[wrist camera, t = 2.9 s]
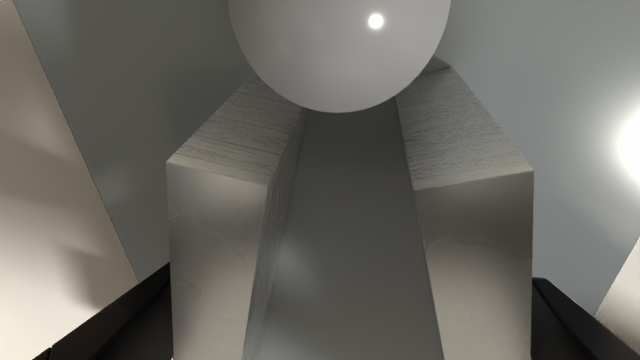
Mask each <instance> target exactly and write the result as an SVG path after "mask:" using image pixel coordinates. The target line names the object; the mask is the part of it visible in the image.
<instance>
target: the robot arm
mask: <svg viewBox="0 0 640 360" xmlns="http://www.w3.org/2000/svg"><path fill="white" fill-rule="evenodd" d="M173 354H174V350H173V325H172V300H171V276H170V261H169V262H168V263H167V264H165V265H164V266H162V267H161V268H160V269H158V270H157V271H155V272H154V273H153V274H151V275H150V276H148V277H147V278H146V279H144V280H143V281H141V282H140V283H139V284H137V285H136V286H135V287H133V288H132V289H130V290H129V291H128V292H126V293H125V294H123V295H122V296H121V297H119V298H118V299H116V300H115V301H114V302H112V303H111V304H109V305H108V306H107V307H105V308H104V309H102V310H101V311H100V312H98V313H97V314H95V315H94V316H93V317H91V318H90V319H88V320H87V321H86V322H84V323H83V324H81V325H80V326H79V327H77V328H76V329H74V330H73V331H72V332H70V333H69V334H67V335H66V336H65V337H63V338H62V339H60V340H59V341H58V342H56V343H55V344H53V345H52V348H51V347H50V348H48V349H46V350H45V351H44V352H42V353H41V354H39V355H38V356H37V357H35V358H34V359H32V360H171V359H172V356H173ZM530 356H531V359H532V360H640V354H638V353H637V352H636V351H635V350H633V349H632V348H631V347H630V346H629V345H627V344H626V343H625V342H624V341H622V340H621V339H620V338H619V337H618V336H616V335H615V334H614V333H613V332H611V331H610V330H609V329H608V328H607V327H605V326H604V325H603V324H602V323H600V322H599V321H598V320H597V319H596V318H594V317H593V316H592V315H591V314H589V313H588V312H587V311H586V310H585V309H583V308H582V307H581V306H580V305H578V304H577V303H576V302H575V301H574V300H572V299H571V298H570V297H569V296H567V295H566V294H565V293H564V292H563V291H561V290H560V289H559V288H558V287H556V286H555V285H554V284H553V283H552V282H550V281H549V280H548V279H546V278H541V277H532V302H531V350H530Z"/></svg>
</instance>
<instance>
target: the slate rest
mask: <svg viewBox="0 0 640 360" xmlns="http://www.w3.org/2000/svg"><path fill="white" fill-rule="evenodd" d="M13 2H14V4H15V6H16V9H17V11H18V13H19V15H20V18H21V20H22V22H23V24H24V26H25V29H26V31H27V33H28V35H29V38H30V40H31V42H32V44H33V47H34V49H35V51H36V53H37V56H38V58H39V60H40V62H41V64H42V67H43V69H44V71H45V73H46V76H47V78H48V80H49V82H50V85H51V87H52V89H53V91H54V93H55V96H56V98H57V100H58V102H59V105H60V107H61V109H62V111H63V114H64V116H65V118H66V120H67V123H68V125H69V127H70V129H71V131H72V134H73V136H74V138H75V140H76V143H77V145H78V147H79V149H80V152H81V154H82V156H83V158H84V161H85V163H86V165H87V167H88V169H89V172H90V174H91V176H92V178H93V181H94V183H95V185H96V187H97V190H98V192H99V194H100V196H101V199H102V201H103V203H104V205H105V207H106V210H107V212H108V214H109V216H110V219H111V221H112V223H113V225H114V228H115V230H116V232H117V234H118V236H119V239H120V241H121V243H122V245H123V248H124V250H125V252H126V254H127V257H128V259H129V261H130V263H131V266H132V268H133V270H134V272H135V274H136V277H137V279H138V281H139V283H140V282H141V281H143V280H144V279H146V278H147V277H148V276H150V275H151V274H153V273H154V272H155V271H157V270H158V269H160V268H161V267H162V266H164V265H165V264H167V263H168V262H169V261H170V251H169V227H168V202H167V178H166V161H167V160H168V159H169V158H170V157H171V156H172V155H173V154H174V153H175V152H176V151H177V150H178V149H179V148H180V147H181V146H182V145H183V144H184V143H185V142H186V141H187V140H188V139H189V138H190V137H191V136H192V135H193V134H194V133H195V132H196V131H197V130H198V129H199V128H200V127H201V126H202V125H203V124H204V123H205V122H206V121H207V120H208V119H209V118H210V117H211V116H212V115H213V114H214V113H215V112H216V111H217V110H218V109H219V108H220V107H221V106H222V105H223V104H224V103H225V102H226V101H227V100H228V99H229V98H230V97H231V96H232V94H233V93H234V92H235V91H236V90H237V89H238V88H239V87H240V86H241V85H242V84H243V83H244V82H245V81H246V80H247V79H248V78H249V77H250V76H251V75H252V74H253V73H254V72H256V73H257V74H258V76H259V77H260V78H261V79H262V80H263V81H264V82H265V83H266V84H267V85H268V86H269V87H271V88H272V89H273V90H274V91H276V92H277V93H278V94H280V95H281V96H283V97H284V98H286V99H288V100H289V101H291V102H294V103H296V104H298V105H300V106H303V107H306V108H308V110H307V115H306V120H305V125H304V130H303V135H302V141H301V146H300V151H299V156H298V161H297V166H296V171H295V176H294V181H293V186H292V191H291V196H290V201H289V206H288V211H287V216H286V221H285V226H284V231H283V236H282V241H281V246H280V251H279V256H278V261H277V266H276V271H275V276H274V281H273V286H272V291H271V296H270V301H269V306H268V312H267V317H266V322H265V327H264V332H263V337H262V342H261V347H260V352H259V357H258V360H444V359H443V353H442V348H441V342H440V337H439V331H438V326H437V321H436V315H435V310H434V304H433V299H432V294H431V288H430V283H429V277H428V272H427V266H426V261H425V256H424V250H423V245H422V239H421V234H420V229H419V223H418V218H417V212H416V207H415V201H414V196H413V191H412V185H411V180H410V174H409V169H408V164H407V158H406V153H405V147H404V142H403V136H402V131H401V126H400V120H399V115H398V109H397V104H396V99H395V95H396V94H398V93H399V92H400V91H401V90H403V89H404V88H405V87H406V86H408V85H409V84H410V83H411V82H412V81H413V80H414V79H415V78H416V77H417V76H421V75H425V74H429V73H433V72H437V71H441V70H445V69H449V68H453V67H454V68H455V70H456V71H457V72H458V74H459V75H460V76H461V77H462V79H463V80H464V81H465V83H466V84H467V85H468V86H469V88H470V89H471V90H472V92H473V93H474V94H475V95H476V97H477V98H478V99H479V101H480V102H481V103H482V104H483V106H484V107H485V108H486V109H487V111H488V112H489V113H490V115H491V116H492V117H493V118H494V120H495V121H496V122H497V124H498V125H499V126H500V127H501V129H502V130H503V131H504V133H505V134H506V135H507V136H508V138H509V139H510V140H511V142H512V143H513V144H514V145H515V147H516V148H517V149H518V150H519V152H520V153H521V154H522V156H523V157H524V158H525V159H526V161H527V162H528V163H529V165H530V166H531V167H532V168H533V170H534V204H533V253H532V277H541V278H546V279H548V280H549V281H550V282H552V283H553V284H554V285H555V286H556V287H558V288H559V289H560V290H561V291H563V292H564V293H565V294H566V295H567V296H569V297H570V298H571V299H572V300H574V301H575V302H576V303H577V304H578V305H580V306H581V307H582V308H583V309H585V310H586V311H587V312H588V313H589V314H591V315H592V316H594V315H595V313H596V311H597V309H598V308H599V306H600V304H601V302H602V301H603V299H604V297H605V296H606V294H607V292H608V290H609V289H610V287H611V285H612V283H613V282H614V280H615V278H616V276H617V275H618V273H619V271H620V270H621V268H622V266H623V264H624V263H625V261H626V259H627V257H628V256H629V254H630V252H631V251H632V249H633V247H634V245H635V244H636V242H637V240H638V238H639V237H640V0H13ZM172 357H173V359H174V354H173V356H172ZM530 360H532V359H531V356H530Z"/></svg>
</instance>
